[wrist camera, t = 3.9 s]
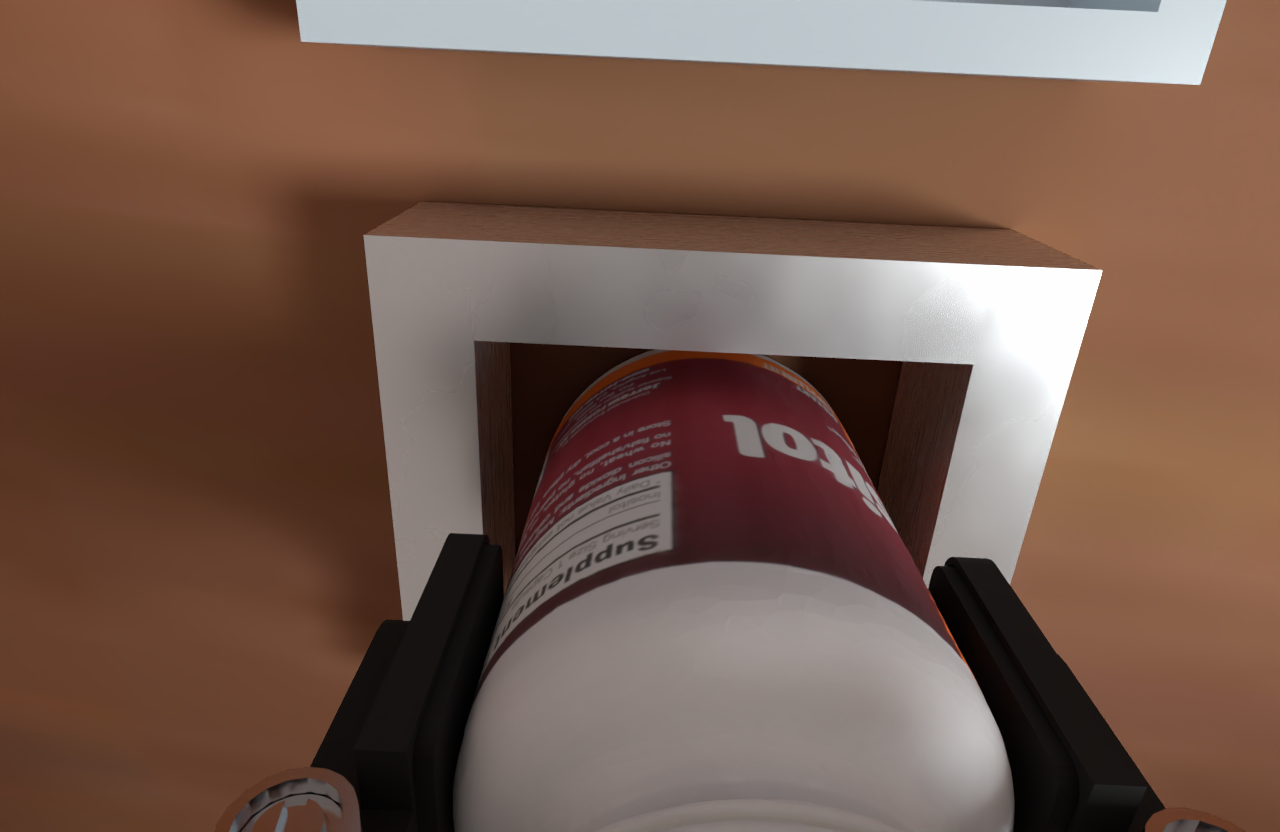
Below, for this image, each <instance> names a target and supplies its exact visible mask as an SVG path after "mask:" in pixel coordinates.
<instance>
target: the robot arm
mask: <svg viewBox="0 0 1280 832" xmlns="http://www.w3.org/2000/svg"><path fill="white" fill-rule="evenodd" d="M928 590H929V591H930V593H931V595H932V597H933V599H934V601H935V603H936V605H937V608H938V610H939V612H940V613H941V615H942V617H943V619H944V621H945V623H946V625H947V627H948V629H949V631H950V633H951V634H952V636H953V638H954V640H955V642H956V644H957V646H958V648H959V650H960V652H961V653H962V655H963V657H964V659H965V660H966V662H967V664H968V666H969V668H970V669H971V671H972V673H973V675H974V677H975V679H976V681H977V683H978V685H979V687H980V689H981V691H982V693H983V695H984V698H985V701H986V703H987V705H988V707H989V709H990V711H991V713H992V715H993V717H994V719H995V722H996V724H997V726H998V728H999V730H1000V733H1001V736H1002V738H1003V741H1004V745H1005V749H1006V752H1007V756H1008V760H1009V764H1010V768H1011V773H1012V781H1013V788H1014V801H1015V805H1014V828H1013V832H1245V831H1244V830H1242V829H1240V828H1239V827H1237V826H1236V825H1234V824H1232V823H1230V822H1228V821H1225V820H1223V819H1221V818H1218V817H1216V816H1214V815H1211V814H1209V813H1206V812H1201V811H1197V810H1193V809H1188V808H1165V807H1164V806H1163V804H1162V803H1161V801H1160V800H1159V798H1158V797H1157V795H1156V794H1155V792H1154V791H1153V789H1152V788H1151V787H1150V785H1149V784H1148V782H1147V781H1146V779H1145V778H1144V776H1143V775H1142V773H1141V772H1140V771H1139V769H1138V768H1137V766H1136V765H1135V763H1134V762H1133V760H1132V759H1131V757H1130V756H1129V755H1128V753H1127V752H1126V750H1125V749H1124V747H1123V746H1122V744H1121V743H1120V741H1119V740H1118V738H1117V737H1116V736H1115V734H1114V733H1113V731H1112V730H1111V728H1110V727H1109V725H1108V724H1107V722H1106V721H1105V720H1104V718H1103V717H1102V715H1101V714H1100V712H1099V711H1098V709H1097V708H1096V706H1095V705H1094V703H1093V702H1092V701H1091V699H1090V698H1089V696H1088V695H1087V693H1086V692H1085V690H1084V689H1083V687H1082V686H1081V685H1080V683H1079V682H1078V680H1077V679H1076V677H1075V676H1074V674H1073V673H1072V671H1071V670H1070V669H1069V667H1068V666H1067V664H1066V663H1065V662H1064V661H1063V659H1062V658H1061V657H1060V656H1059V655H1058V654H1056V652H1055V651H1054V649H1053V648H1052V646H1051V645H1050V643H1049V642H1048V640H1047V639H1046V637H1045V636H1044V635H1043V633H1042V632H1041V630H1040V629H1039V627H1038V626H1037V624H1036V623H1035V621H1034V620H1033V618H1032V617H1031V615H1030V614H1029V612H1028V611H1027V610H1026V608H1025V607H1024V605H1023V604H1022V602H1021V601H1020V599H1019V598H1018V596H1017V595H1016V593H1015V592H1014V590H1013V589H1012V588H1011V586H1010V585H1009V583H1008V582H1007V580H1006V579H1005V577H1004V576H1003V574H1002V573H1001V571H1000V570H999V568H998V567H997V566H996V564H995V563H994V562H993V561H992V560H991V559H988V558H968V557H950V558H948V559H947V561H946V562H945V564H944V566H936V567H935V568H934V570H933V572H932V575H931V579H930V583H929V587H928ZM503 599H504V584H503V555H502V547H501V545H490V541H489V537H488V535H482V534H461V533H450V534H449V535H448V537H447V538H446V541H445V543H444V545H443V547H442V550H441V552H440V554H439V557H438V559H437V561H436V563H435V566H434V568H433V570H432V572H431V575H430V577H429V579H428V581H427V584H426V586H425V588H424V590H423V593H422V595H421V597H420V600H419V602H418V604H417V606H416V609H415V611H414V613H413V615H412V618H411V620H410V621H401V620H386V621H384V622H383V623H382V624H381V625H380V627H379V629H378V630H377V632H376V634H375V636H374V638H373V640H372V642H371V644H370V646H369V648H368V650H367V652H366V654H365V657H364V659H363V661H362V663H361V665H360V667H359V669H358V671H357V673H356V675H355V677H354V679H353V681H352V683H351V685H350V687H349V689H348V691H347V693H346V695H345V697H344V699H343V701H342V703H341V705H340V707H339V709H338V711H337V713H336V715H335V717H334V719H333V721H332V724H331V726H330V728H329V730H328V732H327V734H326V736H325V738H324V740H323V742H322V744H321V746H320V748H319V750H318V752H317V754H316V756H315V758H314V760H313V762H312V764H311V766H310V767H304V768H297V769H290V770H286V771H283V772H280V773H278V774H275V775H272V776H270V777H267V778H265V779H263V780H262V781H260V782H258V783H257V784H255V785H254V786H252V787H250V788H249V789H247V790H246V791H245V792H243V793H242V794H241V795H240V796H239V797H238V798H237V799H236V800H235V801H234V802H233V803H232V804H231V805H230V806H229V807H228V808H227V810H226V811H225V813H224V814H223V816H222V817H221V819H220V820H219V822H218V823H217V825H216V828H215V832H455V831H454V822H453V784H454V774H455V769H456V764H457V760H458V755H459V751H460V748H461V744H462V740H463V737H464V729H465V726H466V722H467V719H468V715H469V711H470V708H471V704H472V701H473V697H474V695H475V692H476V689H477V686H478V682H479V679H480V676H481V672H482V669H483V665H484V662H485V659H486V656H487V653H488V650H489V647H490V643H491V639H492V636H493V632H494V629H495V626H496V623H497V619H498V616H499V612H500V609H501V606H502V602H503Z"/></svg>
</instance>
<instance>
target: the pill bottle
mask: <svg viewBox="0 0 1280 832" xmlns="http://www.w3.org/2000/svg"><path fill="white" fill-rule="evenodd" d="M1014 805H1015V801H1014V788H1013V781H1012V773H1011V768H1010V764H1009V760H1008V756H1007V752H1006V749H1005V745H1004V741H1003V738H1002V736H1001V733H1000V730H999V728H998V726H997V724H996V722H995V719H994V717H993V715H992V713H991V711H990V709H989V707H988V705H987V703H986V701H985V698H984V695H983V693H982V691H981V689H980V687H979V685H978V683H977V681H976V679H975V677H974V675H973V673H972V671H971V669H970V668H969V666H968V664H967V662H966V660H965V659H964V657H963V655H962V653H961V652H960V650H959V648H958V646H957V644H956V642H955V640H954V638H953V636H952V634H951V633H950V631H949V629H948V627H947V625H946V623H945V621H944V619H943V617H942V615H941V613H940V612H939V610H938V608H937V605H936V603H935V601H934V599H933V597H932V595H931V593H930V591H929V590H928V588H927V587H926V585H925V582H924V580H923V578H922V576H921V574H920V572H919V571H918V569H917V567H916V565H915V563H914V561H913V559H912V557H911V555H910V553H909V551H908V549H907V548H906V546H905V545H904V543H903V541H902V540H901V538H900V536H899V534H898V532H897V530H896V528H895V526H894V524H893V523H892V521H891V519H890V517H889V515H888V513H887V511H886V509H885V507H884V505H883V503H882V501H881V499H880V497H879V495H878V493H877V491H876V489H875V487H874V486H873V484H872V482H871V480H870V478H869V476H868V474H867V472H866V470H865V468H864V466H863V464H862V462H861V460H860V458H859V456H858V454H857V452H856V450H855V448H854V445H853V444H852V442H851V440H850V438H849V436H848V434H847V432H846V430H845V429H844V427H843V425H842V423H841V422H840V420H839V419H838V417H837V416H836V414H835V413H834V411H833V410H832V408H831V407H830V405H829V404H828V403H827V401H826V400H825V399H824V397H823V396H822V395H821V394H820V393H819V392H818V391H817V390H816V389H815V388H814V387H813V386H812V385H811V384H810V383H809V382H808V381H807V380H805V379H804V378H803V377H801V376H800V375H799V374H797V373H796V372H794V371H793V370H791V369H789V368H788V367H786V366H784V365H782V364H781V363H779V362H777V361H775V360H773V359H771V358H769V357H767V356H765V355H762V354H744V353H723V352H702V351H681V350H660V349H654V350H651V351H648V352H645V353H643V354H640V355H637V356H635V357H633V358H631V359H629V360H627V361H625V362H623V363H621V364H619V365H617V366H615V367H614V368H612V369H611V370H609V371H608V372H606V373H605V374H603V375H602V376H601V377H599V378H598V379H597V380H596V381H594V382H593V383H592V384H591V385H590V386H589V387H588V388H587V389H586V390H585V391H584V392H583V393H582V394H581V395H580V396H579V397H578V398H577V399H576V401H575V402H574V403H573V404H572V406H571V407H570V408H569V410H568V411H567V413H566V414H565V416H564V417H563V419H562V421H561V423H560V425H559V427H558V428H557V430H556V432H555V434H554V436H553V438H552V441H551V443H550V446H549V449H548V451H547V454H546V457H545V461H544V464H543V468H542V471H541V474H540V477H539V480H538V483H537V487H536V491H535V494H534V497H533V501H532V505H531V508H530V511H529V514H528V518H527V521H526V525H525V528H524V531H523V535H522V539H521V542H520V546H519V549H518V552H517V555H516V559H515V562H514V565H513V569H512V572H511V575H510V578H509V582H508V585H507V589H506V592H505V596H504V599H503V602H502V606H501V609H500V612H499V616H498V619H497V623H496V626H495V629H494V632H493V636H492V639H491V643H490V647H489V650H488V653H487V656H486V659H485V662H484V665H483V669H482V672H481V676H480V679H479V682H478V686H477V689H476V692H475V695H474V697H473V701H472V704H471V708H470V711H469V715H468V719H467V722H466V726H465V729H464V737H463V740H462V744H461V748H460V751H459V755H458V760H457V764H456V769H455V774H454V784H453V822H454V831H455V832H1013V828H1014Z"/></svg>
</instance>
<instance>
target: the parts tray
mask: <svg viewBox="0 0 1280 832" xmlns="http://www.w3.org/2000/svg"><path fill="white" fill-rule="evenodd" d="M1226 1H1227V0H296V4H297V12H298V20H299V28H300V37H301V42H315V43H329V44H343V45H357V46H371V47H389V48H409V49H430V50H451V51H472V52H492V53H513V54H534V55H555V56H575V57H596V58H617V59H638V60H658V61H679V62H700V63H720V64H741V65H762V66H783V67H803V68H824V69H845V70H866V71H886V72H907V73H928V74H949V75H969V76H990V77H1011V78H1032V79H1052V80H1073V81H1099V82H1129V83H1159V84H1189V85H1200V83H1201V80H1202V77H1203V74H1204V71H1205V68H1206V64H1207V61H1208V58H1209V55H1210V52H1211V48H1212V45H1213V42H1214V39H1215V36H1216V33H1217V29H1218V26H1219V23H1220V20H1221V17H1222V14H1223V10H1224V7H1225V4H1226Z"/></svg>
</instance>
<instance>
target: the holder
mask: <svg viewBox="0 0 1280 832" xmlns="http://www.w3.org/2000/svg"><path fill="white" fill-rule="evenodd" d="M363 236H364V245H365V255H366V265H367V275H368V284H369V294H370V304H371V313H372V323H373V333H374V343H375V352H376V362H377V372H378V382H379V391H380V401H381V411H382V421H383V430H384V440H385V450H386V459H387V469H388V479H389V489H390V498H391V508H392V518H393V528H394V537H395V547H396V557H397V567H398V576H399V586H400V596H401V606H402V615H403V621H410V620H411V618H412V615H413V613H414V611H415V609H416V606H417V604H418V602H419V600H420V597H421V595H422V593H423V590H424V588H425V586H426V584H427V581H428V579H429V577H430V575H431V572H432V570H433V568H434V566H435V563H436V561H437V559H438V557H439V554H440V552H441V550H442V547H443V545H444V543H445V541H446V538H447V537H448V535H449V534H450V533H461V534H482V535H488V537H489V541H490V545H501V547H502V555H503V584H504V596H505V592H506V589H507V585H508V582H509V578H510V575H511V572H512V569H513V565H514V562H515V559H516V548H515V511H514V473H513V436H512V398H511V361H510V342H514V343H535V344H556V345H577V346H598V347H618V348H639V349H660V350H681V351H702V352H723V353H744V354H765V355H786V356H807V357H827V358H848V359H869V360H890V361H902V366H901V371H900V376H899V381H898V387H897V392H896V397H895V402H894V407H893V412H892V417H891V422H890V427H889V433H888V438H887V443H886V448H885V453H884V458H883V463H882V468H881V474H880V479H879V484H878V489H877V493H878V495H879V497H880V499H881V501H882V503H883V505H884V507H885V509H886V511H887V513H888V515H889V517H890V519H891V521H892V523H893V524H894V526H895V528H896V530H897V532H898V534H899V536H900V538H901V540H902V541H903V543H904V545H905V546H906V548H907V549H908V551H909V553H910V555H911V557H912V559H913V561H914V563H915V565H916V567H917V569H918V571H919V572H920V574H921V576H922V578H923V580H924V582H925V585H926V587H927V588H928V587H929V583H930V579H931V575H932V572H933V570H934V568H935V567H936V566H944V564H945V562H946V561H947V559H948V558H950V557H968V558H988V559H991V560H992V561H993V562H994V563H995V564H996V566H997V567H998V568H999V570H1000V571H1001V573H1002V574H1003V576H1004V577H1005V579H1006V580H1007V582H1008V583H1009V585H1010V583H1011V580H1012V576H1013V573H1014V570H1015V566H1016V563H1017V559H1018V556H1019V553H1020V549H1021V546H1022V542H1023V539H1024V536H1025V532H1026V529H1027V525H1028V522H1029V519H1030V515H1031V512H1032V508H1033V505H1034V502H1035V498H1036V495H1037V491H1038V488H1039V484H1040V481H1041V478H1042V474H1043V471H1044V467H1045V464H1046V461H1047V457H1048V454H1049V450H1050V447H1051V444H1052V440H1053V437H1054V433H1055V430H1056V427H1057V423H1058V420H1059V416H1060V413H1061V410H1062V406H1063V403H1064V399H1065V396H1066V393H1067V389H1068V386H1069V382H1070V379H1071V376H1072V372H1073V369H1074V365H1075V362H1076V358H1077V355H1078V352H1079V348H1080V345H1081V341H1082V338H1083V335H1084V331H1085V328H1086V324H1087V321H1088V318H1089V314H1090V311H1091V307H1092V304H1093V301H1094V297H1095V294H1096V290H1097V287H1098V284H1099V280H1100V277H1101V273H1102V270H1100V269H1098V268H1096V267H1094V266H1091V265H1089V264H1087V263H1085V262H1083V261H1080V260H1078V259H1076V258H1074V257H1072V256H1070V255H1067V254H1065V253H1063V252H1061V251H1059V250H1056V249H1054V248H1052V247H1050V246H1048V245H1045V244H1043V243H1041V242H1039V241H1037V240H1034V239H1032V238H1030V237H1028V236H1026V235H1024V234H1021V233H1019V232H1017V231H1015V230H1006V229H985V228H964V227H943V226H922V225H901V224H881V223H860V222H839V221H818V220H797V219H776V218H756V217H735V216H714V215H693V214H672V213H651V212H631V211H610V210H589V209H568V208H547V207H526V206H506V205H485V204H464V203H443V202H420V203H418V204H417V205H415V206H413V207H411V208H410V209H408V210H406V211H404V212H403V213H401V214H399V215H397V216H396V217H394V218H392V219H390V220H389V221H387V222H385V223H383V224H382V225H380V226H378V227H377V228H375V229H373V230H371V231H370V232H368V233H366V234H364V235H363Z"/></svg>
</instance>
